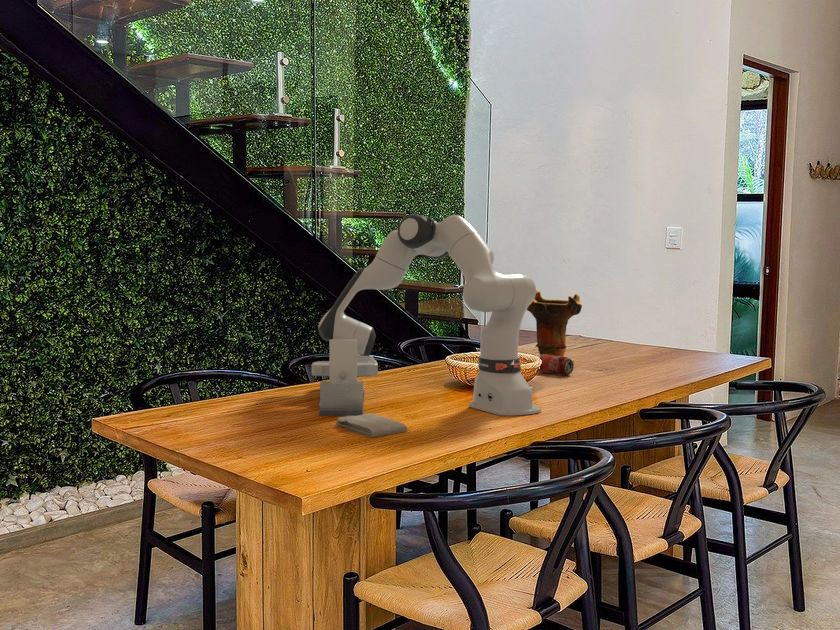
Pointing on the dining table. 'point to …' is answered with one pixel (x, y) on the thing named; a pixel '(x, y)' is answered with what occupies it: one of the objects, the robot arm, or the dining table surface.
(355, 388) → the base
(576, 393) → the dining table surface
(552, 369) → the beverage can
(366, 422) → the washcloth
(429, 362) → the dining table surface
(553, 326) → the decorative vase
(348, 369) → the upright white panel
